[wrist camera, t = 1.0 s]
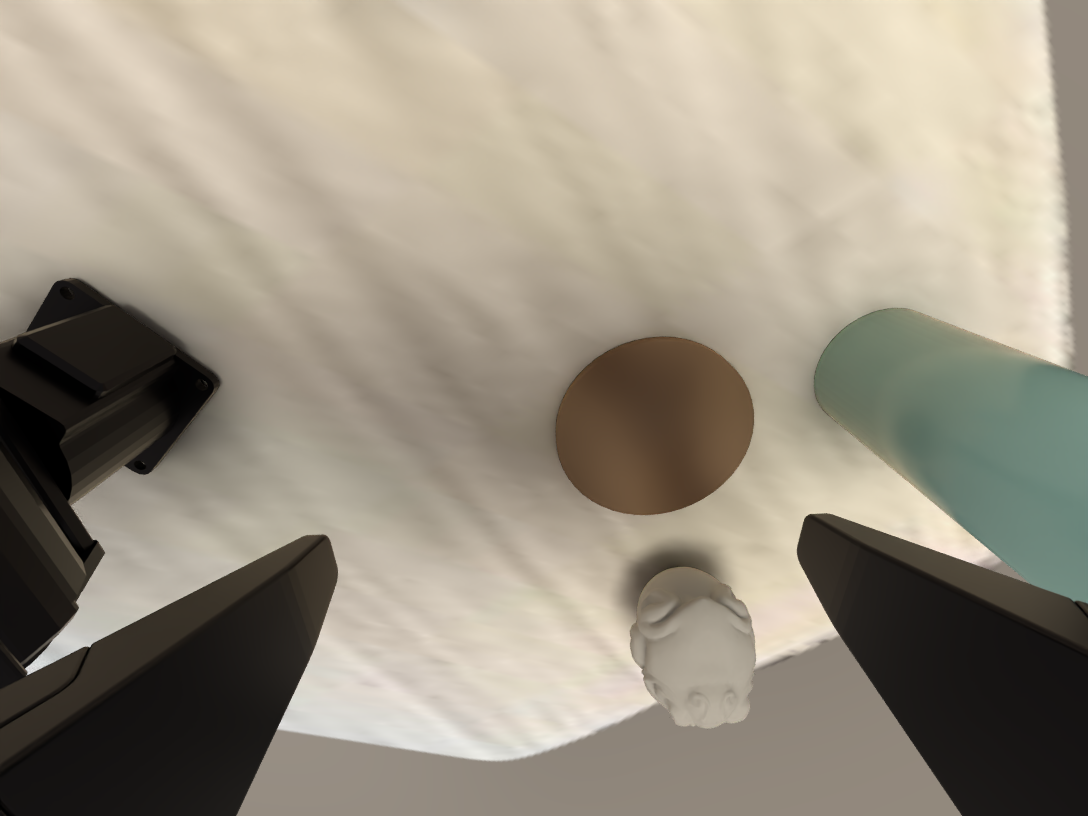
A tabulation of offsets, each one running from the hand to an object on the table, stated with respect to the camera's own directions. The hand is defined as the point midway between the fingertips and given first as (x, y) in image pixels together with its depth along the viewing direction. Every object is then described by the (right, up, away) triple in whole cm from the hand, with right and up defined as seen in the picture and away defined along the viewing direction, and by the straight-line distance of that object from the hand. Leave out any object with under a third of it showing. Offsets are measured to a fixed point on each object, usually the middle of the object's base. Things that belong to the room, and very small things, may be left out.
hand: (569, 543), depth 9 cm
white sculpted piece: (+7, -7, +18) cm, 21 cm away
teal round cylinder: (+14, +4, +13) cm, 20 cm away
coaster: (+5, +2, +14) cm, 15 cm away
